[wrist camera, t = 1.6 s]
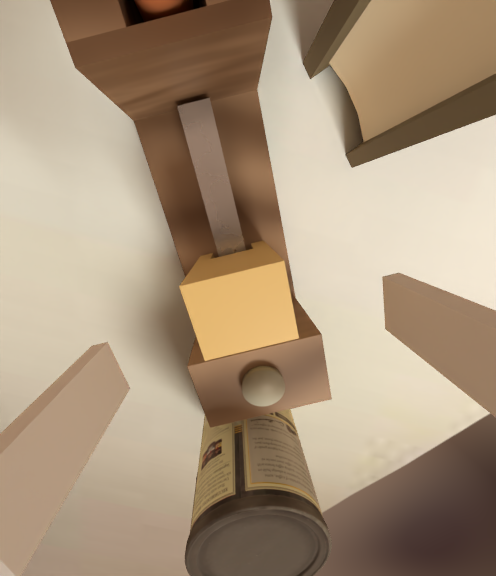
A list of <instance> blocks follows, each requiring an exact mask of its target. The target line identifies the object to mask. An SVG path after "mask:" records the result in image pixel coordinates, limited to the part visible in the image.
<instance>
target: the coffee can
mask: <svg viewBox="0 0 496 576" xmlns="http://www.w3.org/2000/svg"><path fill="white" fill-rule="evenodd" d="M330 552H331V537H330V533H329V531H328V527H327V525H326V523H325V521H324V519H323V516H322V513H321V510H320V506H319V503H318V500H317V496H316V493H315V490H314V486H313V483H312V480H311V476H310V473H309V470H308V466H307V463H306V460H305V456H304V453H303V450H302V447H301V443H300V440H299V437H298V433H297V430H296V427H295V423H294V420H293V417H292V413H291V410H290V409H287V410H283V411H279V412H275V413H270V414H266V415H262V416H258V417H254V418H249V419H245V420H241V421H237V422H232V423H228V424H224V425H220V426H215V427H211V428H210V426H209V423H208V421H207V418H206V415H205V418H204V426H203V434H202V443H201V450H200V458H199V466H198V473H197V478H196V488H195V496H194V505H193V513H192V521H191V529H190V535H189V538H188V541H187V545H186V552H185V565H186V569H187V571H188V573H189V575H190V576H314V575H315V574H316V573H317V572H318V571H319V570H320V569H321V568H322V567H323V566H324V564H325V563H326V561H327V559H328V557H329V555H330Z"/></svg>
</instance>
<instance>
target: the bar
mask: <svg viewBox="0 0 496 576" xmlns="http://www.w3.org/2000/svg"><path fill="white" fill-rule="evenodd" d="M177 107H178V111H179V115H180V118H181V122H182V125H183V129H184V133H185V136H186V140H187V144H188V147H189V151H190V154H191V158H192V162H193V165H194V169H195V172H196V176H197V180H198V183H199V187H200V191H201V194H202V198H203V201H204V205H205V209H206V212H207V216H208V219H209V223H210V227H211V230H212V234H213V237H214V241H215V245H216V248H217V252H218V256H219V257H221V256H225V255H229V254H233V253H237V252H241V251H245V250H246V248H245V244H244V240H243V236H242V231H241V227H240V223H239V219H238V215H237V210H236V206H235V202H234V198H233V194H232V189H231V185H230V181H229V177H228V173H227V168H226V164H225V160H224V156H223V152H222V147H221V143H220V139H219V135H218V131H217V127H216V122H215V118H214V114H213V110H212V106H211V101H210V98H207V99H203V100H199V101H195V102H191V103H187V104H183V105H179V106H177Z"/></svg>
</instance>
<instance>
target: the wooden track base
mask: <svg viewBox="0 0 496 576" xmlns="http://www.w3.org/2000/svg"><path fill="white" fill-rule="evenodd" d="M50 1H51V4H52V7H53V9H54V12H55V15H56V17H57V20H58V23H59V25H60V28H61V31H62V33H63V36H64V39H65V41H66V44H67V47H68V49H69V52H70V55H71V57H72V60H73V63H74V65H75V68H76V69H77V70H78V71H80V72H81V73H82V74H83V75H84V76H85V77H86V78H87V79H88V80H89V81H91V82H92V83H93V84H94V85H95V86H96V87H97V88H98V89H99V90H100V91H102V92H103V93H104V94H105V95H106V96H107V97H108V98H109V99H110V100H111V101H113V102H114V103H115V104H116V105H117V106H118V107H119V108H120V109H121V110H122V111H124V112H125V113H126V114H127V115H128V116H129V117H130V118H131V119H132V120H133V121H134V123H135V126H136V129H137V132H138V135H139V138H140V141H141V144H142V147H143V150H144V153H145V156H146V159H147V162H148V165H149V168H150V171H151V174H152V177H153V180H154V183H155V186H156V189H157V192H158V195H159V198H160V201H161V204H162V207H163V210H164V213H165V216H166V219H167V222H168V225H169V228H170V231H171V234H172V237H173V241H174V244H175V247H176V250H177V253H178V256H179V259H180V262H181V265H182V268H183V271H184V274H185V277H186V276H187V274H188V273H189V272H190V270H191V269H192V267H193V266H194V264H195V263H196V262H197V260H198V259H199V257H200V256H202V255H206V254H210V253H213V255H214V258H217V257H219V256H218V252H217V248H216V245H215V241H214V237H213V234H212V230H211V227H210V223H209V219H208V216H207V212H206V209H205V205H204V201H203V198H202V194H201V191H200V187H199V183H198V180H197V176H196V172H195V169H194V165H193V162H192V158H191V154H190V151H189V147H188V144H187V140H186V136H185V133H184V129H183V125H182V122H181V118H180V115H179V111H178V107H177V106H179V105H183V104H187V103H191V102H195V101H199V100H203V99H207V98H210V101H211V106H212V110H213V114H214V118H215V122H216V127H217V131H218V135H219V139H220V143H221V147H222V152H223V156H224V160H225V164H226V168H227V173H228V177H229V181H230V185H231V189H232V194H233V198H234V202H235V206H236V210H237V215H238V219H239V223H240V227H241V231H242V236H243V240H244V244H245V248H246V250H249V249H252V247H251V243H255V242H259V241H265V242H266V243H267V244H268V245H269V246H270V247H271V248H272V249H273V250H274V251H275V252H276V253H277V254H278V255H279V256H280V257H281V258H282V259H283V260H284V262H285V267H286V272H287V277H288V283H289V288H290V293H291V298H292V304H293V309H294V314H295V320H296V325H297V330H298V335H299V338H298V339H294V340H290V341H286V342H282V343H278V344H273V345H269V346H265V347H261V348H257V349H253V350H248V351H244V352H240V353H236V354H232V355H228V356H223V357H219V358H215V359H211V360H207V361H205V360H204V357H203V354H202V351H201V348H200V346H199V343H198V340H197V337H196V338H195V341H194V345H193V348H192V352H191V355H190V359H189V362H188V366H187V367H188V370H189V373H190V375H191V378H192V381H193V383H194V386H195V389H196V391H197V394H198V397H199V399H200V402H201V405H202V407H203V410H204V413H205V415H206V418H207V421H208V423H209V426H210V428H211V427H215V426H220V425H224V424H228V423H232V422H237V421H241V420H245V419H249V418H254V417H258V416H262V415H266V414H270V413H275V412H279V411H283V410H287V409H292V408H296V407H300V406H304V405H308V404H313V403H317V402H321V401H325V400H330V399H331V393H330V386H329V380H328V373H327V367H326V360H325V354H324V348H323V341H322V335H321V333H320V332H319V330H318V329H317V327H316V326H315V325H314V323H313V322H312V320H311V319H310V318H309V316H308V315H307V314H306V312H305V311H304V309H303V308H302V307H301V305H300V304H299V302H298V301H297V300H296V298H295V293H294V287H293V282H292V276H291V271H290V265H289V260H288V255H287V249H286V244H285V238H284V233H283V227H282V222H281V217H280V211H279V206H278V200H277V195H276V189H275V184H274V179H273V173H272V168H271V162H270V157H269V151H268V146H267V141H266V135H265V130H264V124H263V119H262V113H261V108H260V103H259V97H258V92H257V88H258V83H259V78H260V73H261V68H262V64H263V59H264V54H265V49H266V44H267V39H268V35H269V30H270V25H271V20H272V13H271V6H270V0H193V6H194V10H190V11H186V12H182V13H179V14H175V15H171V16H167V17H163V18H159V19H155V20H152V21H148V22H144V21H143V19H142V17H141V15H140V13H139V10H138V8H137V6H136V4H135V2H134V0H50Z"/></svg>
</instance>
